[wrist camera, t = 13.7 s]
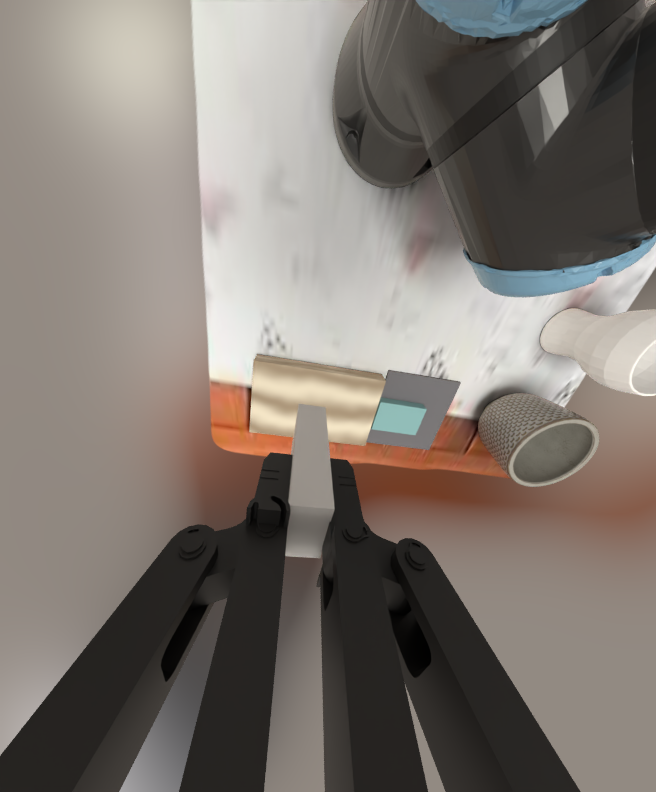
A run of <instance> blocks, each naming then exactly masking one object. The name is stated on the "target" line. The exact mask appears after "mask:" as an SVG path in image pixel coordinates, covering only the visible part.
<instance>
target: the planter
mask: <svg viewBox="0 0 656 792" xmlns="http://www.w3.org/2000/svg"><path fill="white" fill-rule="evenodd" d="M478 433H479V436H480V438H481V441H482V442H483V444H484V446H485V447H486V448H487V450H488V451H489V452H490V454H491V455H492V456H493V458H494V459H495V460H496V461H497V463H498V464H499V465H500V466H501V468H502V469H503V470H504V471H505V473H506V474H507V475H508V476H509V477H510V478H511V479H513V480H514V481H515V482H517V483H519V484H521V485H524V486H533V487H537V486H545V485H549V484H553V483H556V482H558V481H561V480H563V479H565V478H567V477H569V476H570V475H572V474H574V473H575V472H577V471H578V470H579V469H581V468H582V467H583V466H584V465H585V464H586V463H587V462H588V461H589V460H590V459H591V457H592V456H593V454H594V453H595V451H596V449H597V447H598V444H599V432H598V430H597V428H596V427H595V426H594V424H592V423H591V422H590V421H588V420H587V419H585V418H584V417H582V416H580V415H578V414H576V413H574V412H572V411H570V410H568V409H566V408H564V407H562V406H560V405H557V404H555V403H553V402H551V401H548V400H546V399H544V398H541V397H539V396H536V395H532V394H527V393H514V394H509V395H506V396H503V397H501V398H499V399H496V400H494V401H492V402H491V403H490V404H488V405H487V406H486V408H485V409H484V411H483V413H482V415H481V417H480V419H479V423H478Z"/></svg>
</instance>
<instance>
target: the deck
mask: <svg viewBox="0 0 656 792" xmlns="http://www.w3.org/2000/svg"><path fill="white" fill-rule="evenodd" d="M385 383H386V380H385V379H384V377H383V376H382V374H377V373H370V372H364V371H358V370H352V369H346V368H339V367H333V366H327V365H321V364H315V363H308V362H302V361H296V360H290V359H284V358H277V357H271V356H265V355H259V354H257V356H256V357H255V359H254V364H253V381H252V397H251V414H250V431H249V432H253V433H262V434H270V435H278V436H287V437H293V436H294V430H295V423H296V417H297V411H298V405H299V404H305V405H312V406H320V407H325V408H326V419H327V430H328V441H329V442H337V443H345V444H353V445H362V446H365V444H366V441H367V438H368V435H369V432H370V429H371V426H372V423H373V420H374V417H375V413H376V410H377V407H378V404H379V401H380V398H381V395H382V392H383V389H384V386H385Z"/></svg>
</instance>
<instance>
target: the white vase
mask: <svg viewBox="0 0 656 792" xmlns="http://www.w3.org/2000/svg"><path fill="white" fill-rule="evenodd" d="M540 343H541V346H542V348H543V349H544V350H545V351H546V352H549V353H553V354H557V355H562V356H568V357H570V358H572V359H573V360H575V361H577V362H578V364H579V365H580V367H581V368H582V370H583V371H584V372H585V373H587V374H588V375H589V376H590V377H591V378H592V379H594V380H595V381H596V382H598V383H599V384H602V385H604V386H606V387H609V388H611V389H614V390H618V391H622V392H627V393H632V394H637V395H642V396H654V395H656V310H640V311H629V312H624V313H620V314H617V315H613V316H597V315H594V314H592V313H589V312H587V311H584V310H580V309H577V308H570V309H566V310H563V311H561V312H559V313H558V314H556V315H555V316H554V317H552V318H551V319H550V320H549V322H548V323H547V324H546V325H545V327H544V329H543V331H542V333H541V338H540Z"/></svg>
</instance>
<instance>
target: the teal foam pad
mask: <svg viewBox="0 0 656 792" xmlns="http://www.w3.org/2000/svg"><path fill="white" fill-rule="evenodd" d="M426 410H427V409H426V408H425V406H424V405H423V404H420V403H413V402H407V401H401V400H394V399H388V398H382V397H381V398H380V401H379V404H378V407H377V410H376V413H375V417H374V420H373V423H372V426H371V429H373V430H381V431H388V432H395V433H402V434H409V435H416V433H417V431H418V428H419V426H420V424H421V421H422V419H423V417H424V415H425V412H426Z"/></svg>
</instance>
